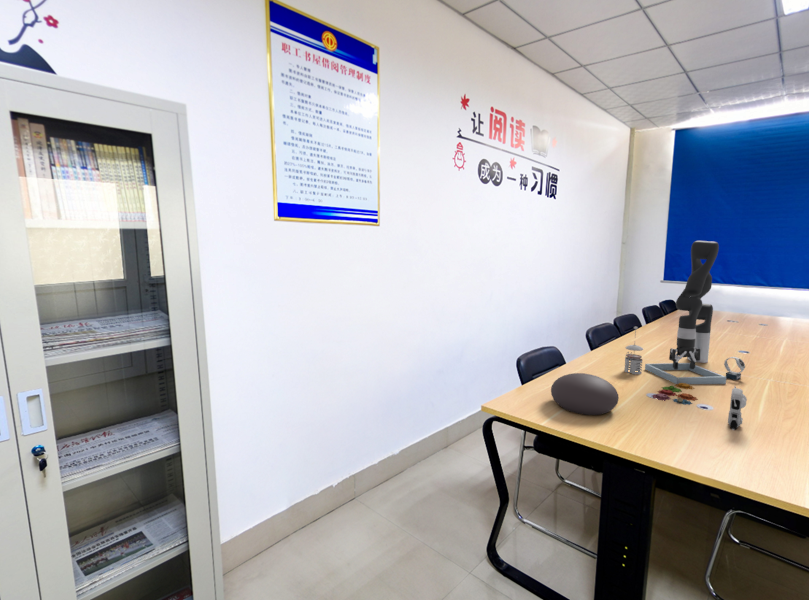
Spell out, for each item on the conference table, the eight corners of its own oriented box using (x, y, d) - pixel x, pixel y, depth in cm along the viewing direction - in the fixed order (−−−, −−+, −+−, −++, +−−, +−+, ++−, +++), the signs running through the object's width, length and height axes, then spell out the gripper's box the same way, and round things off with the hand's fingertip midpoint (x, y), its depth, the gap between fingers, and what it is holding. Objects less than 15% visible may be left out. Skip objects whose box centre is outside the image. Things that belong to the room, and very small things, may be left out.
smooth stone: (591, 398, 181) (593, 364, 179) (632, 421, 156) (634, 383, 155) (539, 402, 177) (540, 368, 175) (572, 427, 152) (574, 387, 150)
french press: (647, 374, 213) (650, 326, 210) (635, 379, 206) (639, 329, 203) (628, 370, 221) (631, 323, 218) (616, 374, 214) (619, 326, 211)
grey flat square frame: (644, 371, 219) (645, 363, 219) (688, 370, 220) (689, 362, 220) (676, 386, 195) (676, 378, 195) (725, 385, 196) (726, 376, 196)
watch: (740, 382, 200) (743, 360, 199) (721, 378, 207) (723, 356, 205) (745, 380, 203) (747, 358, 202) (725, 376, 210) (727, 354, 208)
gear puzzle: (668, 384, 199) (669, 376, 199) (709, 392, 188) (710, 384, 187) (648, 401, 178) (649, 392, 177) (693, 412, 166) (694, 402, 166)
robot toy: (742, 437, 143) (747, 395, 141) (726, 433, 146) (730, 392, 144) (744, 425, 152) (748, 386, 150) (728, 422, 155) (732, 383, 153)
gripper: (694, 335, 209) (692, 366, 211) (667, 335, 208) (664, 367, 210) (706, 338, 202) (703, 370, 204) (677, 338, 201) (674, 371, 203)
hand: (683, 368), depth 207 cm, fingers open, 8 cm apart
